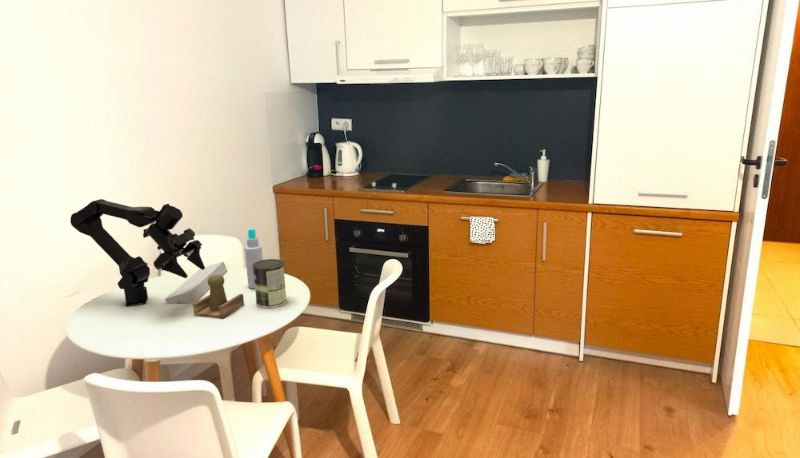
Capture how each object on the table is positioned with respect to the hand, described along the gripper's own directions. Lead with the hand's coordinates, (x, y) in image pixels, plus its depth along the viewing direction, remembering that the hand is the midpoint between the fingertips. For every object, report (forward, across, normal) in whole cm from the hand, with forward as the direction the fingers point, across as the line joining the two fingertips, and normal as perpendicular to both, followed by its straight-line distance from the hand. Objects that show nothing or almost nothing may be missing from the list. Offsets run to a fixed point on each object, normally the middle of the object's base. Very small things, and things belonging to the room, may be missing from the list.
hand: (195, 273), depth 186 cm
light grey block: (0, +19, +19) cm, 27 cm away
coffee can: (+24, +10, -7) cm, 27 cm away
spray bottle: (+14, +24, +3) cm, 28 cm away
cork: (+14, 0, +2) cm, 14 cm away
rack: (+14, 0, +3) cm, 15 cm away
